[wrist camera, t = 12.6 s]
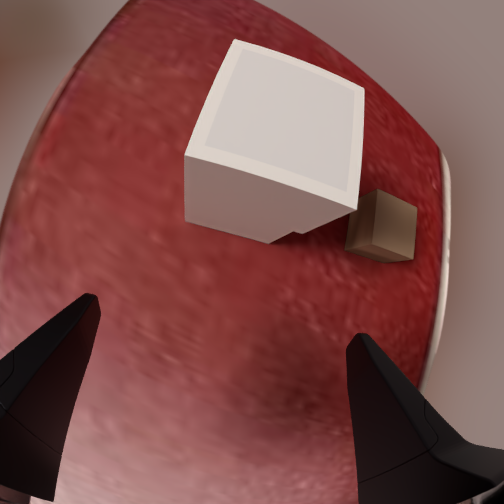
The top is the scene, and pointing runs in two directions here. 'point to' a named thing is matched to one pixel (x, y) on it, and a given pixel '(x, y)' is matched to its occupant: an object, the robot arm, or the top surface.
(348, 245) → the walnut block
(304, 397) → the top surface
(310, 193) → the white notched block
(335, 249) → the top surface
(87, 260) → the top surface
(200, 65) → the top surface
